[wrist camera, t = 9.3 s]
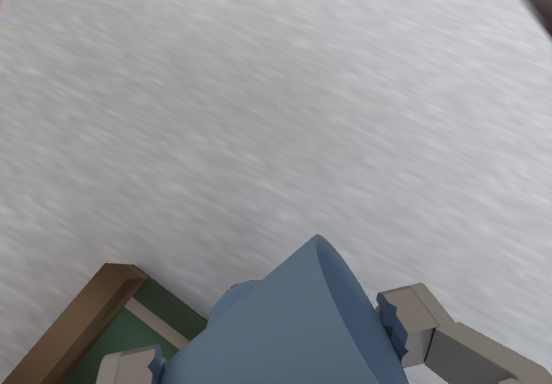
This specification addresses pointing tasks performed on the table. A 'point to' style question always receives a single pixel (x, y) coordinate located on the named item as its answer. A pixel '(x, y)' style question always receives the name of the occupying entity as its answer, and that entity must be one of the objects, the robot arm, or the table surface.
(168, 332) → the wooden display tray
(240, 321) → the spotlight
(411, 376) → the table surface
